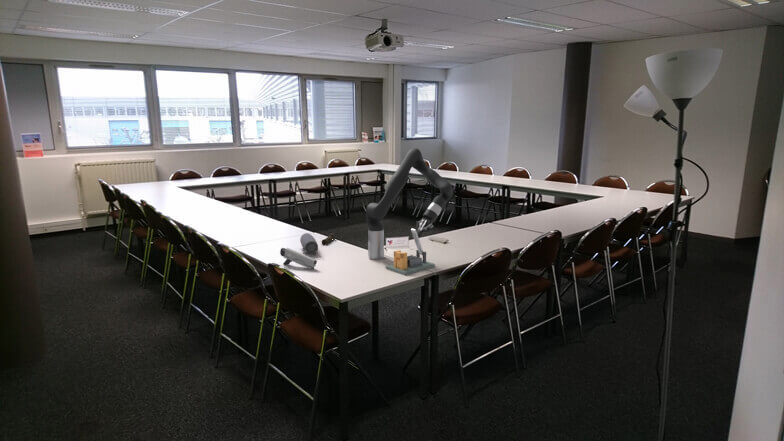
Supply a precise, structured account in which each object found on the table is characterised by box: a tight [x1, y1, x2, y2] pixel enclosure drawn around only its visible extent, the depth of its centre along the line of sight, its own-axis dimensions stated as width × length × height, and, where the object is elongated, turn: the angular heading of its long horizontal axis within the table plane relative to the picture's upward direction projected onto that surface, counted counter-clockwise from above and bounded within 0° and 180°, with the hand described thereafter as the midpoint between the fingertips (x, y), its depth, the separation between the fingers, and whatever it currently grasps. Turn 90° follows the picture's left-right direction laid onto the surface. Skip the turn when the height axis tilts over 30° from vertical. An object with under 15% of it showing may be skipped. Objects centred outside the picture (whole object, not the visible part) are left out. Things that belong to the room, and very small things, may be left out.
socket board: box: [385, 249, 436, 276], centre depth 259 cm, size 23×16×8 cm
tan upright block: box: [393, 249, 408, 270], centre depth 254 cm, size 4×7×9 cm, turn 41°
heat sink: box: [407, 254, 423, 268], centre depth 260 cm, size 9×9×4 cm
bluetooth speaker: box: [299, 232, 319, 255], centre depth 294 cm, size 23×9×10 cm, turn 18°
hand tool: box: [321, 232, 336, 246], centre depth 319 cm, size 19×4×5 cm, turn 164°
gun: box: [279, 247, 318, 270], centre depth 263 cm, size 2×25×10 cm, turn 63°
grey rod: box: [410, 228, 424, 256], centre depth 261 cm, size 2×3×17 cm, turn 41°
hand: (416, 236), depth 260 cm, fingers closed
